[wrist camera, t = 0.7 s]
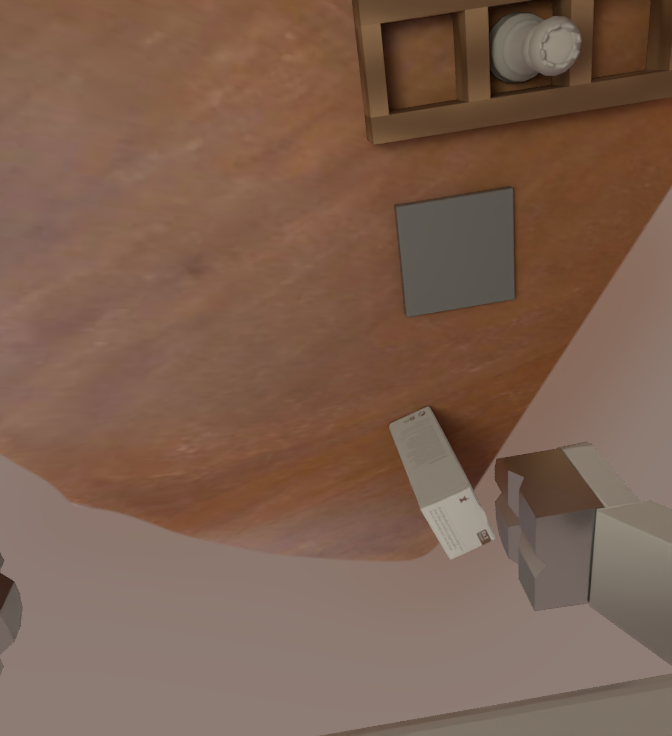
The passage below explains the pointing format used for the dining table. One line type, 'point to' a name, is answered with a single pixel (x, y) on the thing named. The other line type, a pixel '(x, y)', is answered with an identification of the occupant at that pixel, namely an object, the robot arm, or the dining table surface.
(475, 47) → the three-compartment wooden tray
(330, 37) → the dining table surface
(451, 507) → the skincare box
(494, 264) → the coaster
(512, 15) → the rook chess piece
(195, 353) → the dining table surface
